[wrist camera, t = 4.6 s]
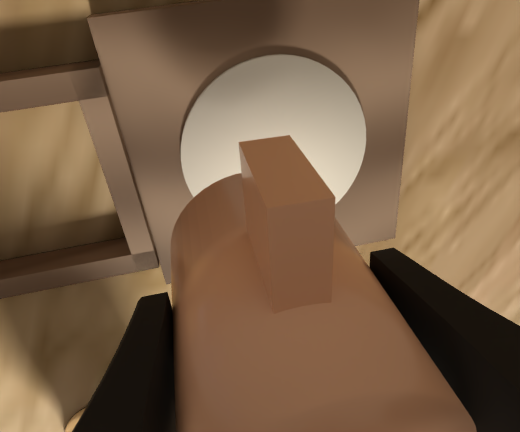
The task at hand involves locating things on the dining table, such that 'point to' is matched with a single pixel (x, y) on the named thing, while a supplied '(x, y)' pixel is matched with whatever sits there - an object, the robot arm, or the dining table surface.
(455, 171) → the dining table surface
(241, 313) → the peach tabbed cylinder
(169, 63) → the caddy
